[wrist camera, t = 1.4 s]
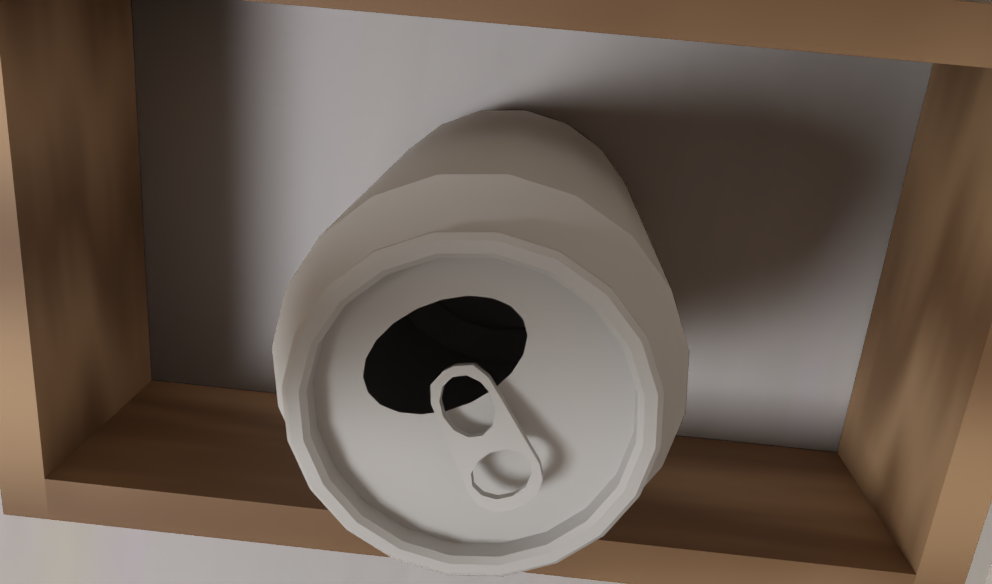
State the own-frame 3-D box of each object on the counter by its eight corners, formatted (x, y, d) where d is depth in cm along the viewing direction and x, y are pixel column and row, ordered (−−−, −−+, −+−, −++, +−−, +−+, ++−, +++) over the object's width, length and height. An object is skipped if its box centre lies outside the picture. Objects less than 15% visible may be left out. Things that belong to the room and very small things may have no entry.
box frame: (866, 489, 26) (952, 620, 21) (117, 409, 27) (3, 514, 22) (991, 16, 22) (1147, 17, 16) (84, -65, 23) (-72, -90, 17)
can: (563, 56, 23) (578, 101, 12) (675, 287, 25) (782, 519, 13) (334, 180, 24) (146, 326, 13) (456, 388, 26) (385, 674, 15)
